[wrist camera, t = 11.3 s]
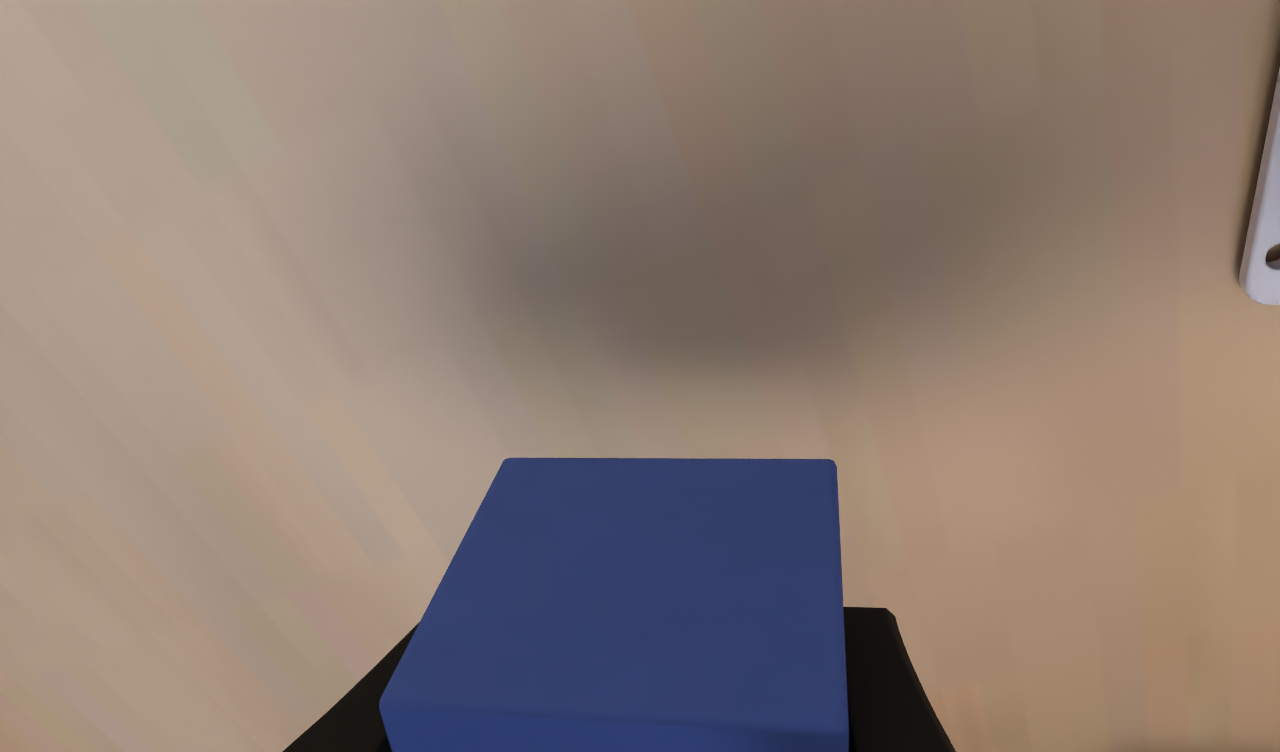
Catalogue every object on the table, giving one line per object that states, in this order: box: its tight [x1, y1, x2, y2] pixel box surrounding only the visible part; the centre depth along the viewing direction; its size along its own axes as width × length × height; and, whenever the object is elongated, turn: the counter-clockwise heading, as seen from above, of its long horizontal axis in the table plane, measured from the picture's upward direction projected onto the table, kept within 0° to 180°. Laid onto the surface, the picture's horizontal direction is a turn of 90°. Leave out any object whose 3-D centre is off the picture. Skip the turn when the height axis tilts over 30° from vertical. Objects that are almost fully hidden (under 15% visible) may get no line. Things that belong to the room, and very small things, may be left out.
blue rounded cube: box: [379, 458, 849, 752], centre depth 12 cm, size 4×4×4 cm
